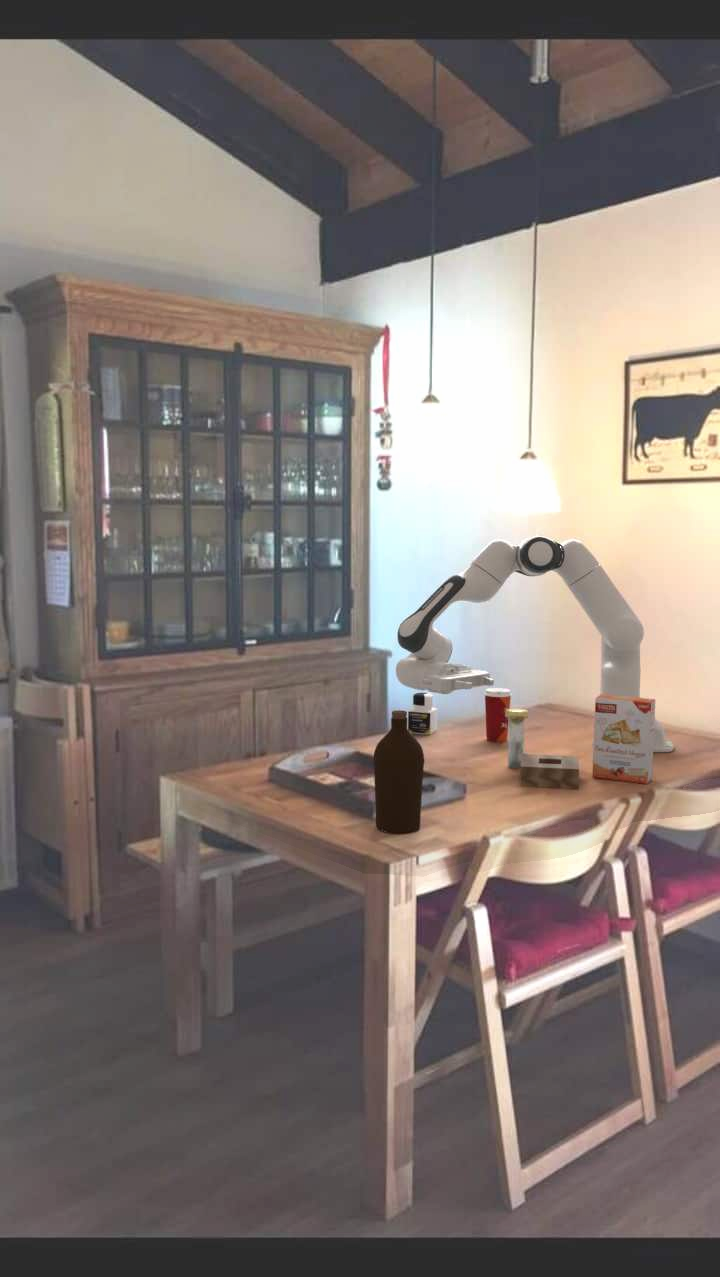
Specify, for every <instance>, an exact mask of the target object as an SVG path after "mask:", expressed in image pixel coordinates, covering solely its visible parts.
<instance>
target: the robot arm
mask: <svg viewBox="0 0 720 1277" xmlns="http://www.w3.org/2000/svg"><path fill="white" fill-rule="evenodd" d="M551 571H552V572H555V573H556V574H557V575H559V576H560V577H561V579H562V580H563V582H564V583H565V585H566V586H567V587H568V589H569V590H570V592H571V593H572V595H573V596H574V598H575V600H576V601H577V602H578V603H579V605H580V606H581V608H582V609H583V611H584V612H585V614H586V615H587V617H588V618H589V619H590V621H591V623H592V625H594V627H595V628H596V629H597V632H598V633H599V634H600V636H601V637H600V638H601V640H600V694H599V695H601V694H602V695H614V696H624V697H635V698H641V697H640V694H641V644H642V641H643V639H644V637H645V636H644V635H645V630H644V626H643V624H642V622H641V620H640V619H639V618H638V616H637V615H636V613H635V612H634V610H633V609H632V607H630V605H629V604H628V602H627V601H626V599H625V598H624V596H623V594H621V593H620V591H619V589H618V588H617V587H616V586H615V584H614V582H613V581H612V580H611V578H610V577H609V576H608V573H606V570H604V568H603V566H602V565H601V564H600V562H599V561H598V559H597V558H596V557H595V556H594V555H593V554H592V552H591V551H590V550H589V549H588V548H587V547H586V546H585V545H584V544H583V543H582V542H581V541H580V540H577V539H568V540H564V541H563V542H560V543H559V542H558V541H555V540H553V539H551V538H549V537H547V536H544V535H533V536H531V537H528V538H526V539H524V540H523V541H522V542H520V543H518V544H516V545H514V544H511V542H509V541H508V540H504V539H500V538H497V539H493V540H492V541H490V542H488V544H487V545H486V546H485V547H484V548H483V549H482V550H481V551H480V552H479V553H478V554H477V555H476V556H475V557H474V559H473V560H472V561H471V563H470V564H469V565H468V567H466V569H464V570H463V571H462V572H460V573H459V574H455V575H454V574H453V575H452V576H450V577H449V578H448V579H446V580H445V581H444V582H443V583H442V584H441V585H440V586H439V587H437V589H436V590H435V591H434V592H433V593H432V594H431V595H430V596H429V597H428V598H427V599H426V600H425V601H424V602H423V604H421V605H420V606H419V607H418V608H417V610H416V611H415V612H413V613H412V614H410V615H409V616H408V617H406V618H405V619H404V620H403V621H402V622H401V623H400V625H399V627H398V630H397V643H398V645H399V646H400V647H401V649H403V650H406V651H407V652H409V655H407V656H406V657H404V658H401V659H400V660H399V661H398V662H397V663H396V667H395V675H396V678H397V681H398V682H399V683H400V684H401V685H403V687H406V688H409V689H413V690H418V691H428V692H429V693H430V692H431V693H433V694H441V695H448V694H451V693H452V692H455V691H458V690H471V689H472V688H478V687H485V686H490V687H491V686H494V685H495V680H494V679H493V678H491V674H490V673H489V672H488V671H487V670H483V669H479V668H478V669H477V668H474V667H468V666H467V665H466V664H461V663H460V664H458V663H457V664H455V663H450V662H449V660H450V659H451V657H452V654H453V644H452V641H451V640H450V638H448V636H446V635H445V634H443V632H441V631H440V630H438V629H436V627H434V626H433V624H434V623H435V621H437V619H438V618H439V617H440V616H441V615H442V614H443V613H444V612H445V611H446V610H447V609H448V608H449V607H450V605H452V604H454V603H456V602H460V601H464V602H465V601H466V602H470V603H475V604H477V603H478V604H480V603H485V602H488V601H491V600H492V599H493V598H494V597H495V596H496V595H497V593H498V592H499V591H500V589H501V588H502V587H503V585H504V584H505V582H506V581H507V579H508V578H509V577H510V576H511V575H512V574H513V573H519V574H521V575H523V576H528V577H538V576H543V575H545V574H546V573H548V572H551ZM666 737H667V736H666V731H665V727H664V725H663V724H662V723H661V722H660V721H658V720H657V719H656V718H655V722H654V745H653V753H670V752H673V751H674V744H673V742H672V741H670V740H668V739H667V738H666ZM592 744H593V745H594V740H593V742H592Z"/></svg>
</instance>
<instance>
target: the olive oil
mask: <svg viewBox="0 0 720 1277" xmlns="http://www.w3.org/2000/svg"><path fill="white" fill-rule="evenodd" d="M407 713H408V711H406V710H403V709H402V710H400V709H399V710H398V709H397V710H392V711H391V718H390V719H391V720H390V723H391V725H390V726H391V728H390V730H389V731H388V732H387V733H386V734H385V735H384V736H383V737H382V738H381V740H379V742H378V743H377V745H376V746H375V749H374V752H373V774H374V775H373V776H374V798H375V802H374V803H375V827H377V828H378V829H379V830H378V829H377V828H376V829H377V830H378V831H380V830H383V831H386V832H385V833H387V832H392V833H391V834H394V833H404V834H410V832H412V833H415V832H417V831H419V829H421V819H422V817H421V814H422V812H421V811H422V798H423V797H422V796H423V783H424V782H423V778H424V766H425V765H424V764H425V754H424V751H423V747H422V745H421V743H420V742H419V741H418V740H417V739H416V738H415V736H413V734H412V733H410V732H409V731H408V717H407V716H408V714H407ZM383 831H382V832H383Z"/></svg>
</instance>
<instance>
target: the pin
mask: <svg viewBox="0 0 720 1277" xmlns="http://www.w3.org/2000/svg"><path fill="white" fill-rule="evenodd" d="M529 712H530V711H529V710H527V709H521V708H510V709H508V710H506V713H505V717H507V718H509V724H508V754H507V756H508V757H507V758H508V759H507V761H508V762H507V768H509V767H510V768H509V769H513V768H516V769H515V770H517V769H520V770H521V762H522V756H523V754H525V753H524V752H525V722H526V721H525V719H528V718H529Z"/></svg>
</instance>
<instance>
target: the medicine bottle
mask: <svg viewBox="0 0 720 1277" xmlns="http://www.w3.org/2000/svg"><path fill="white" fill-rule="evenodd" d="M407 713H408V714H407V730H408V731H409V732H410V733H411V734H412V735H413V734H416V735H426V736H430V735H432V734H434V733H435V732H437V731H438V708H436V707H434V695H433V694H432V693H430V692H415V693H414V694H413V695H412V708H411V709H408V711H407Z"/></svg>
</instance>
